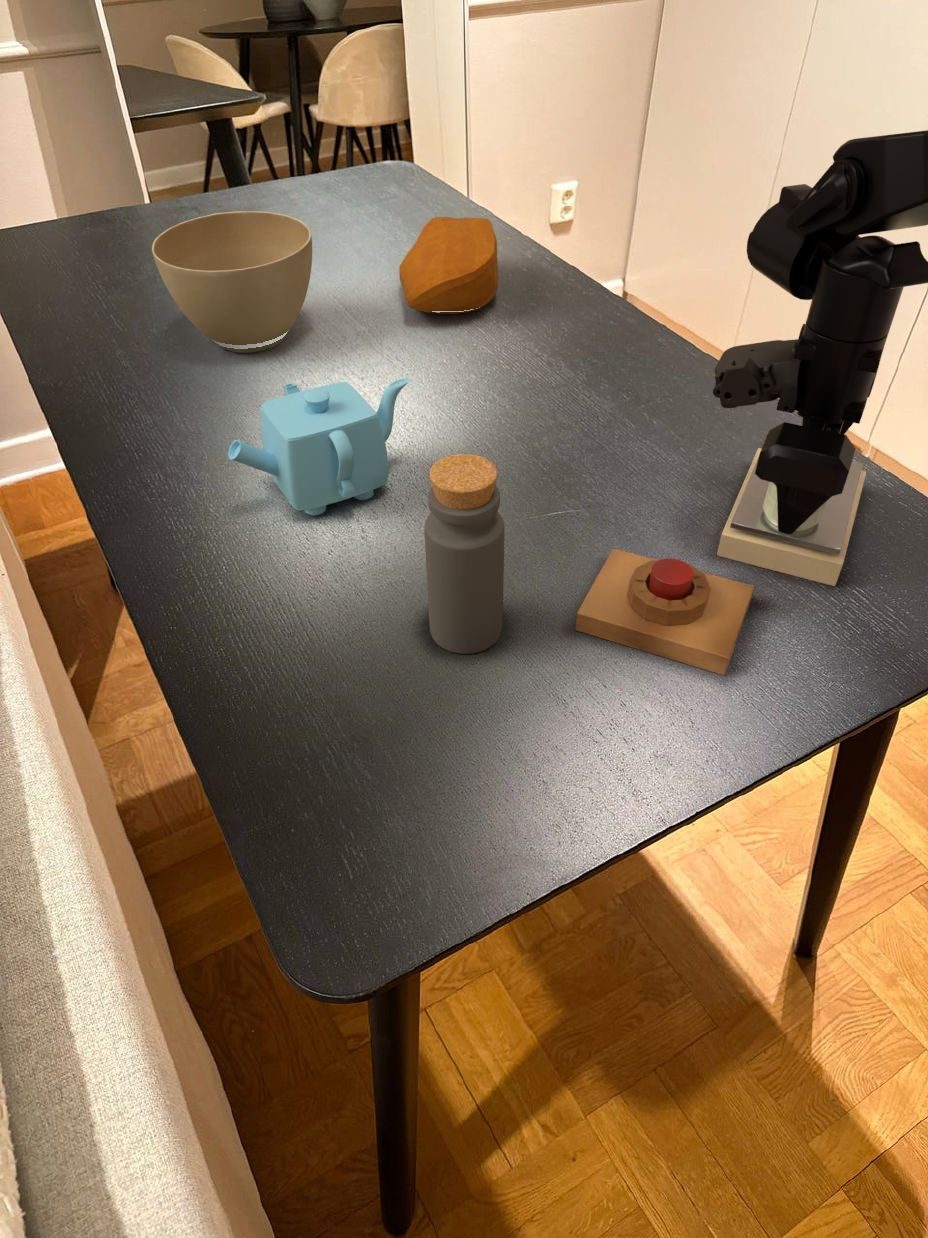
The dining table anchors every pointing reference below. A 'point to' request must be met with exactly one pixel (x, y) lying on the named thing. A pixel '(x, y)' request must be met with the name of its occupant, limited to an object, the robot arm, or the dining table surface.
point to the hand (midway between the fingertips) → (795, 502)
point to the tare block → (665, 613)
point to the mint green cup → (772, 511)
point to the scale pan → (818, 537)
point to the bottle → (464, 554)
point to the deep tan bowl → (237, 274)
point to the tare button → (671, 579)
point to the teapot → (323, 444)
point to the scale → (785, 547)
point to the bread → (451, 266)
